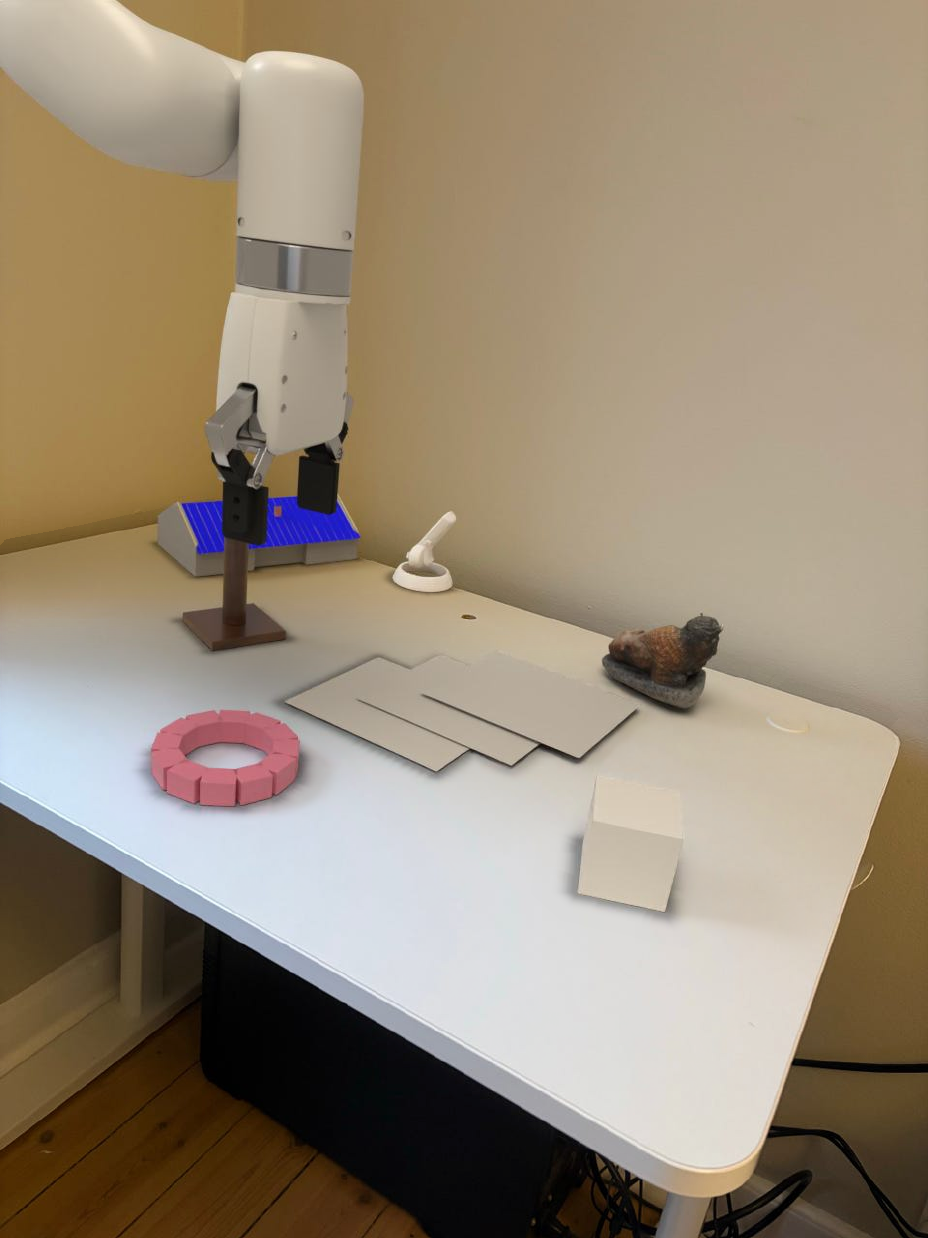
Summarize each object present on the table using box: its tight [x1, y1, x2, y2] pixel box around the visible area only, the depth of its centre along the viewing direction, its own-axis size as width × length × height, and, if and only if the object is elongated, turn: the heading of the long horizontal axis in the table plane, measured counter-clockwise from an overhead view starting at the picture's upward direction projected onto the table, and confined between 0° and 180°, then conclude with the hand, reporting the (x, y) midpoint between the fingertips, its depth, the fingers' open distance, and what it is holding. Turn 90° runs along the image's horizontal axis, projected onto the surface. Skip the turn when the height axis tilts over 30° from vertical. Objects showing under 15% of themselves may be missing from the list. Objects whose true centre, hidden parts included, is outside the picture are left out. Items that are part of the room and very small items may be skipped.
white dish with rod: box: [392, 510, 457, 593], centre depth 114 cm, size 8×12×7 cm
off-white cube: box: [577, 774, 684, 913], centre depth 64 cm, size 6×6×6 cm
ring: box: [150, 709, 301, 807], centre depth 72 cm, size 11×11×2 cm
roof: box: [156, 494, 361, 578], centre depth 118 cm, size 22×14×7 cm, turn 127°
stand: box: [181, 537, 287, 652], centre depth 94 cm, size 8×8×12 cm
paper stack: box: [284, 650, 642, 772], centre depth 86 cm, size 23×25×1 cm
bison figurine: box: [601, 612, 725, 709], centre depth 93 cm, size 12×7×10 cm, turn 41°
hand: (282, 524), depth 67 cm, fingers open, 9 cm apart
